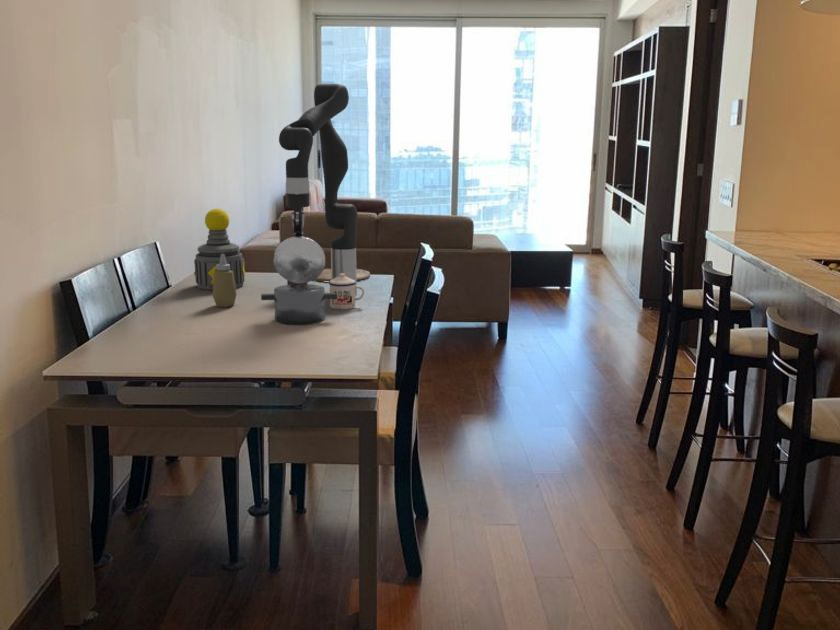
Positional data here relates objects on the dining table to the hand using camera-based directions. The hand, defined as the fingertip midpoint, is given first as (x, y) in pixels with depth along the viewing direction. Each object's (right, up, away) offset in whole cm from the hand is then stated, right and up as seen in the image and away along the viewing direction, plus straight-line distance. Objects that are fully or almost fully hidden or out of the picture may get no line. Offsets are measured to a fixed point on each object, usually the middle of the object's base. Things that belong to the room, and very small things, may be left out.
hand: (299, 245), depth 261 cm
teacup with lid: (+14, -20, +17) cm, 30 cm away
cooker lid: (0, -5, 0) cm, 5 cm away
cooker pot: (+1, -24, -1) cm, 24 cm away
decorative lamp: (-38, -11, +52) cm, 66 cm away
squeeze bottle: (-28, -19, +18) cm, 39 cm away
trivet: (+6, -7, +72) cm, 72 cm away
